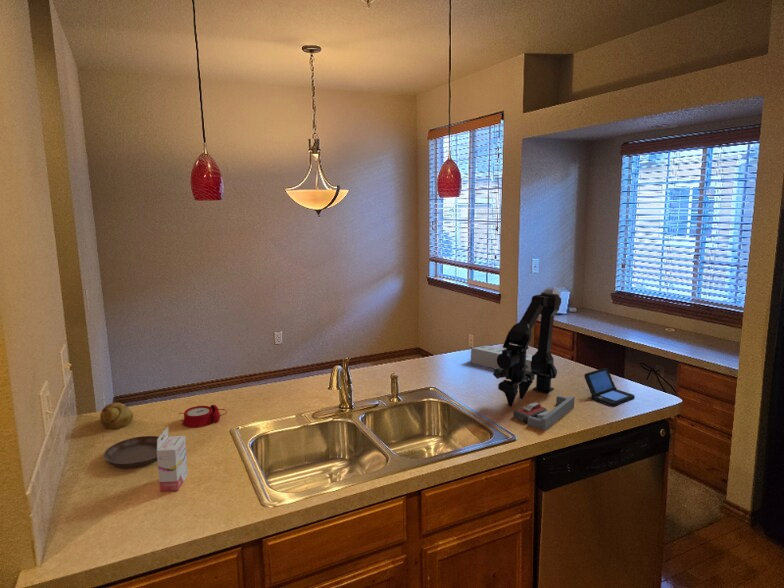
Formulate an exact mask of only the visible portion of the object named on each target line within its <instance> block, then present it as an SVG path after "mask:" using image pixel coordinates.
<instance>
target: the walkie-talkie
mask: <svg viewBox="0 0 784 588" xmlns="http://www.w3.org/2000/svg"><path fill="white" fill-rule="evenodd" d="M549 412H550V411H548V409H547V408H546V407H544V406H542V405H541V404H540V403H538V402H532V403H529V404H527V405H526V406H523V407H521V408H519V409H515V410H513V419H515V420H518V421H519V422H521V423H525V424H528V417H529V416H532V417H535V418H539V419H541V418H542V417H544V416H545V415H546V414H548V413H549Z"/></svg>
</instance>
